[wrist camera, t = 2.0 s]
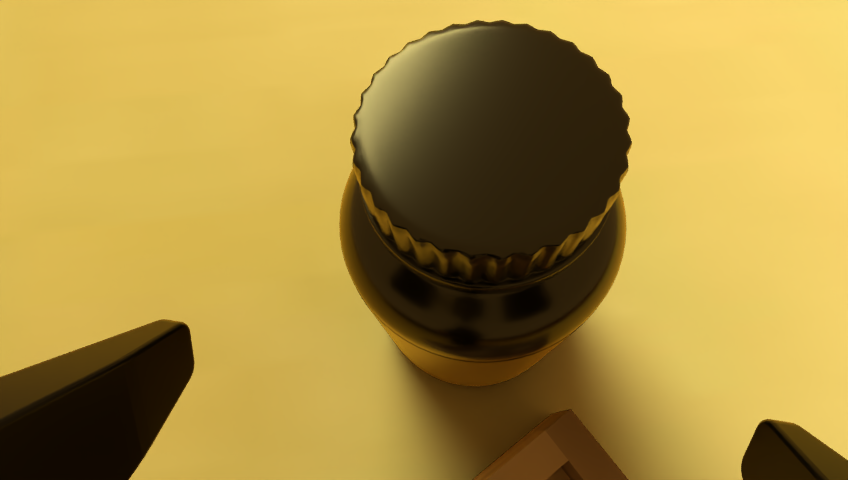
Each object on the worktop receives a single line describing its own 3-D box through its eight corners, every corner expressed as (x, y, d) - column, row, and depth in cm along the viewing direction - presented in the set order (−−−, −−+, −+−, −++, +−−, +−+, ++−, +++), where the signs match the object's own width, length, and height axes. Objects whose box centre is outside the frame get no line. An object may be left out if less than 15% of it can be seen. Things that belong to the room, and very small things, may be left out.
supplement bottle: (360, 257, 21) (245, 42, 9) (512, 196, 21) (573, -73, 10) (423, 422, 18) (368, 396, 7) (592, 348, 19) (794, 215, 7)
